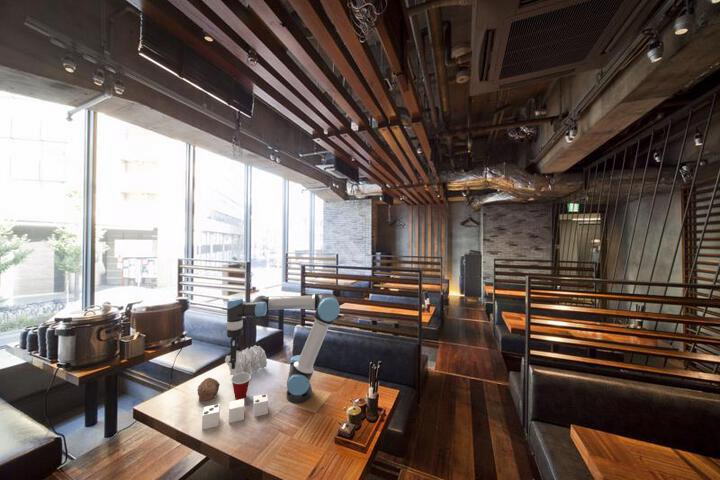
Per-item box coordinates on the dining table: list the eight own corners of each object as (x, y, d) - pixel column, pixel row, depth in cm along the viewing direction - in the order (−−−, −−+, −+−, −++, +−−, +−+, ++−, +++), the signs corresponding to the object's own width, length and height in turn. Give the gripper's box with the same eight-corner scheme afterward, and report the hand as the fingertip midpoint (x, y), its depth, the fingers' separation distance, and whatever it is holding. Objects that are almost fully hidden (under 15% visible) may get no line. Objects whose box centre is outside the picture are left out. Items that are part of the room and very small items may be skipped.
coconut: (200, 392, 158) (200, 375, 158) (221, 389, 162) (221, 373, 162) (194, 405, 146) (194, 387, 146) (216, 402, 149) (217, 384, 149)
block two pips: (266, 406, 147) (266, 393, 147) (267, 413, 140) (268, 400, 140) (253, 409, 144) (253, 395, 144) (253, 417, 138) (253, 403, 138)
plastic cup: (236, 405, 146) (237, 384, 146) (226, 398, 153) (227, 377, 153) (254, 396, 155) (255, 376, 155) (244, 390, 162) (245, 370, 162)
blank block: (243, 411, 142) (244, 398, 142) (243, 419, 136) (244, 406, 136) (229, 414, 139) (229, 401, 139) (228, 423, 133) (229, 409, 133)
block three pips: (219, 417, 137) (219, 403, 137) (218, 425, 131) (218, 411, 131) (203, 420, 134) (204, 406, 134) (201, 429, 128) (202, 415, 128)
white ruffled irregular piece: (266, 374, 189) (233, 388, 167) (252, 357, 197) (220, 369, 176) (275, 353, 185) (243, 365, 164) (261, 337, 194) (229, 347, 173)
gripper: (229, 321, 149) (229, 359, 149) (223, 337, 126) (223, 381, 126) (244, 320, 152) (243, 357, 152) (241, 335, 128) (240, 378, 128)
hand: (234, 368), depth 139 cm, fingers open, 13 cm apart
